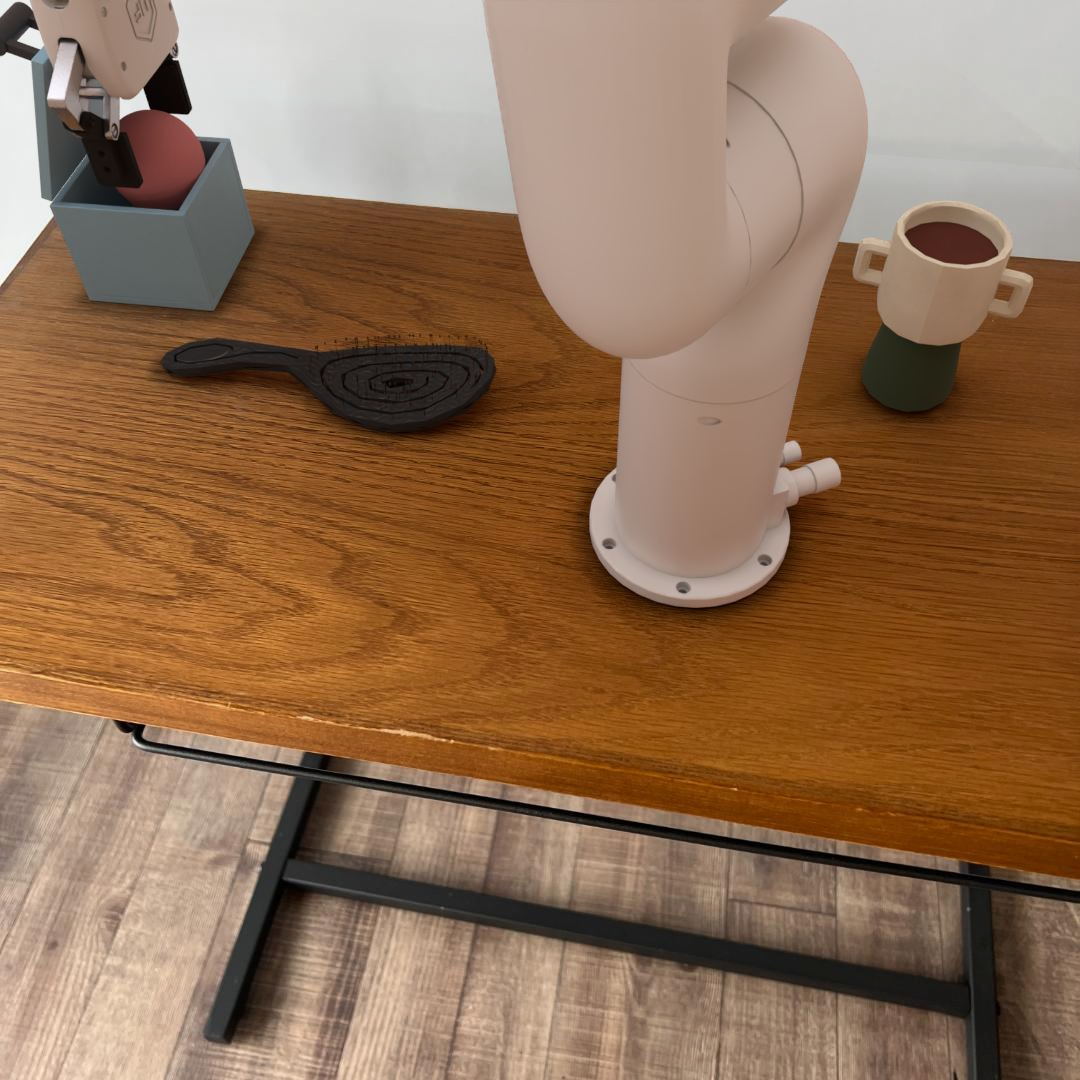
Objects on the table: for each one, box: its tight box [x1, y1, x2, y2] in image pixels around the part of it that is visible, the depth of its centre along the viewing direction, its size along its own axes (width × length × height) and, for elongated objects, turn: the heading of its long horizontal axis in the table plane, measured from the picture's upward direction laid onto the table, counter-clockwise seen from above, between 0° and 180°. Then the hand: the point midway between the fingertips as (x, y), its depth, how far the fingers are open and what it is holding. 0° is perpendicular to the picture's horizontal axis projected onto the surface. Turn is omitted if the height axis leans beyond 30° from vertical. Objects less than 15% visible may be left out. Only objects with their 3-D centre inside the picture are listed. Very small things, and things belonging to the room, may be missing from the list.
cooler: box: [49, 135, 256, 312], centre depth 84 cm, size 10×10×9 cm
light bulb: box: [115, 109, 205, 211], centre depth 82 cm, size 7×7×12 cm
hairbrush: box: [160, 333, 498, 434], centre depth 77 cm, size 8×4×25 cm
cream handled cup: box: [852, 199, 1034, 413], centre depth 72 cm, size 11×7×13 cm, turn 66°
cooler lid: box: [0, 1, 103, 202], centre depth 76 cm, size 11×10×5 cm
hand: (147, 147), depth 79 cm, fingers open, 9 cm apart
